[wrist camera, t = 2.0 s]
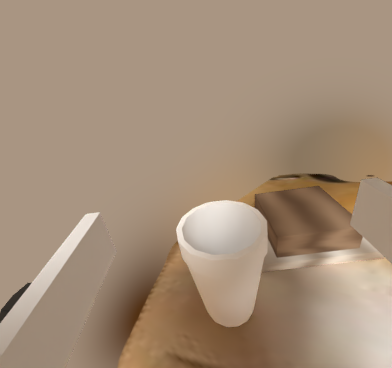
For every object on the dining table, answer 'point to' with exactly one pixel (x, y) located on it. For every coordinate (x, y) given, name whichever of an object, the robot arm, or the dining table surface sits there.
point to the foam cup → (225, 257)
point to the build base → (309, 230)
